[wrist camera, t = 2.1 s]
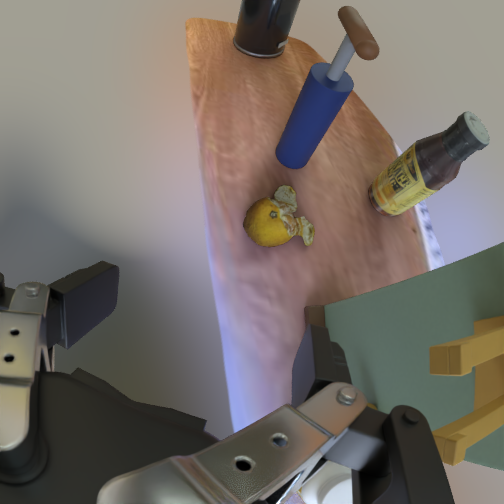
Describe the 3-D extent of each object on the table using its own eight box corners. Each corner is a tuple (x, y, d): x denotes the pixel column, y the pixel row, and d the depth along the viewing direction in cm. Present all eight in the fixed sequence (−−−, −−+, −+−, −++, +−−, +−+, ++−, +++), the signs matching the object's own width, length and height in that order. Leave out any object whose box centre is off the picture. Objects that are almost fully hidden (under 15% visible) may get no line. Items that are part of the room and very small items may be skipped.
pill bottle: (332, 471, 29) (378, 507, 18) (285, 487, 27) (318, 533, 17) (325, 431, 30) (374, 460, 20) (276, 447, 29) (308, 487, 18)
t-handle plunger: (311, 181, 39) (399, 56, 18) (277, 178, 38) (349, 39, 17) (304, 134, 41) (370, 10, 20) (273, 130, 40) (326, -4, 19)
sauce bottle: (367, 174, 41) (449, 87, 22) (401, 189, 42) (488, 116, 23) (364, 213, 39) (461, 131, 20) (400, 227, 40) (501, 160, 21)
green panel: (270, 413, 30) (490, 575, 2) (266, 308, 33) (521, 173, 5) (358, 399, 32) (598, 439, 4) (353, 304, 35) (596, 216, 7)
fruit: (320, 240, 37) (332, 230, 33) (261, 267, 34) (268, 259, 31) (288, 183, 38) (297, 169, 35) (230, 205, 36) (233, 191, 32)
